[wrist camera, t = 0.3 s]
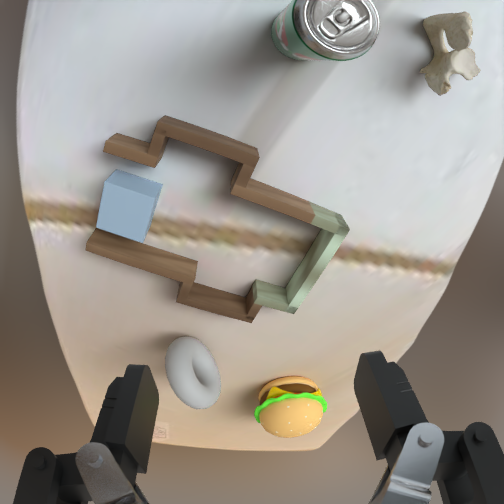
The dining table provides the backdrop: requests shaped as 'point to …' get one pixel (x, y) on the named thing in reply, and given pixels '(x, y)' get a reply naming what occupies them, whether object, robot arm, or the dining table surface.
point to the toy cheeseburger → (290, 406)
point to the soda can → (326, 29)
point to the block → (128, 205)
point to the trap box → (240, 186)
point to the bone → (456, 60)
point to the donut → (192, 372)
